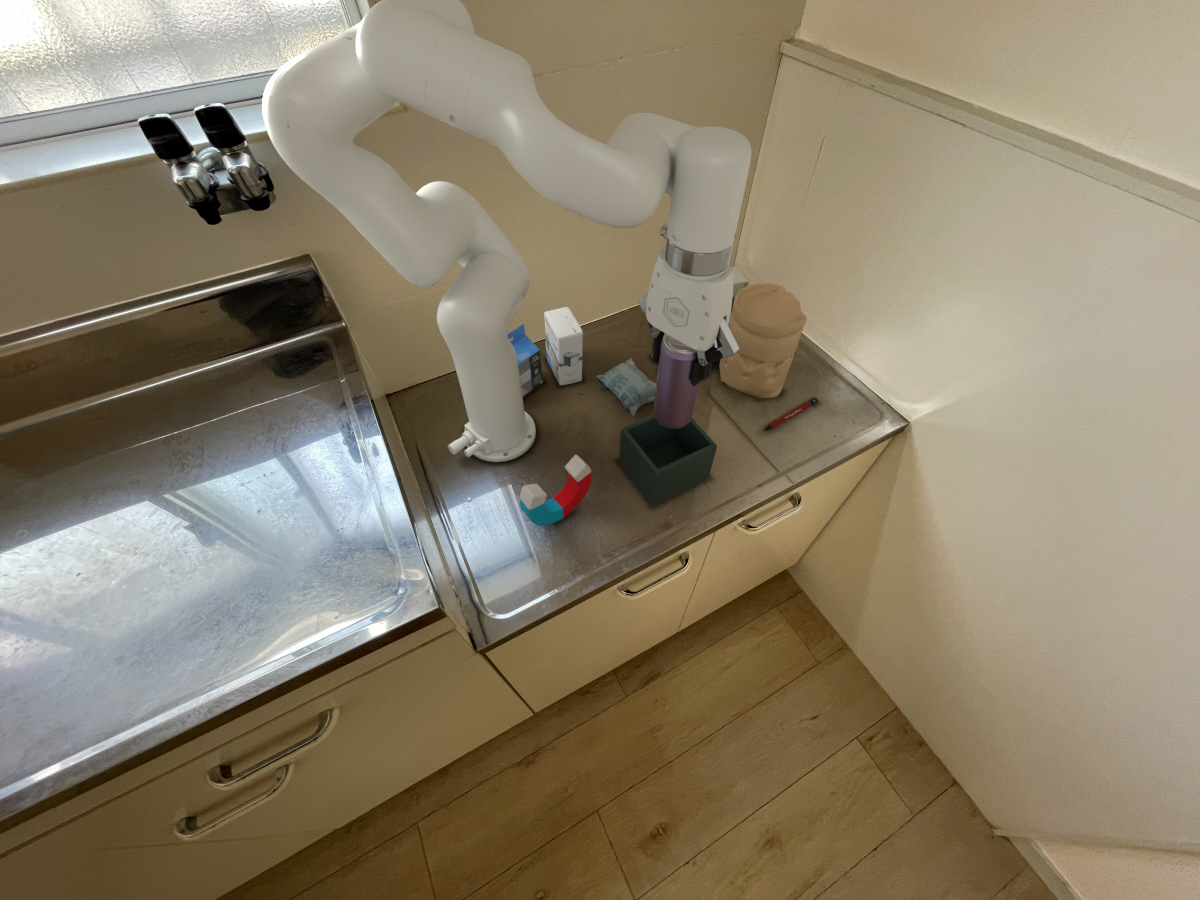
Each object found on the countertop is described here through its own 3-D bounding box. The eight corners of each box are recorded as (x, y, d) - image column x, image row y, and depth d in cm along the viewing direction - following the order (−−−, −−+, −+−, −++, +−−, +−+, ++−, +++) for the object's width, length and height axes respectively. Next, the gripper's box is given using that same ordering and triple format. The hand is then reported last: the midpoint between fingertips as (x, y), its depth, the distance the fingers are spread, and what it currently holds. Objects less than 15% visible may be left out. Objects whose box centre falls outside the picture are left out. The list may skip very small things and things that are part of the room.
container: (762, 354, 115) (785, 277, 101) (794, 396, 108) (823, 319, 94) (705, 367, 113) (721, 290, 99) (734, 411, 105) (756, 334, 91)
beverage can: (689, 433, 84) (705, 356, 72) (650, 427, 85) (659, 350, 73) (693, 405, 88) (709, 327, 76) (655, 399, 88) (664, 321, 77)
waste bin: (652, 506, 92) (656, 473, 85) (619, 462, 97) (620, 428, 91) (708, 478, 95) (717, 445, 89) (673, 437, 101) (679, 403, 94)
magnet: (533, 538, 88) (527, 501, 80) (523, 526, 89) (516, 489, 81) (592, 499, 92) (592, 461, 85) (582, 488, 94) (581, 450, 86)
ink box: (545, 359, 114) (542, 310, 105) (569, 353, 115) (567, 304, 106) (560, 387, 109) (557, 338, 100) (584, 380, 110) (583, 332, 101)
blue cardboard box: (510, 407, 105) (502, 357, 96) (496, 398, 107) (486, 347, 97) (543, 382, 110) (539, 331, 100) (529, 373, 111) (523, 322, 102)
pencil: (760, 431, 102) (761, 427, 101) (813, 400, 107) (814, 396, 106) (763, 434, 101) (765, 430, 101) (816, 403, 107) (818, 399, 106)
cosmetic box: (738, 332, 120) (751, 282, 110) (719, 335, 119) (730, 285, 109) (727, 314, 124) (738, 264, 114) (708, 317, 123) (718, 267, 113)
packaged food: (631, 368, 112) (632, 349, 109) (667, 404, 106) (670, 385, 102) (594, 385, 109) (594, 366, 106) (629, 423, 103) (631, 404, 99)
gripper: (619, 235, 67) (615, 353, 80) (742, 296, 59) (714, 414, 73) (660, 212, 70) (649, 328, 84) (781, 267, 63) (747, 385, 77)
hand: (679, 367), depth 78 cm, fingers closed on beverage can, 6 cm apart
